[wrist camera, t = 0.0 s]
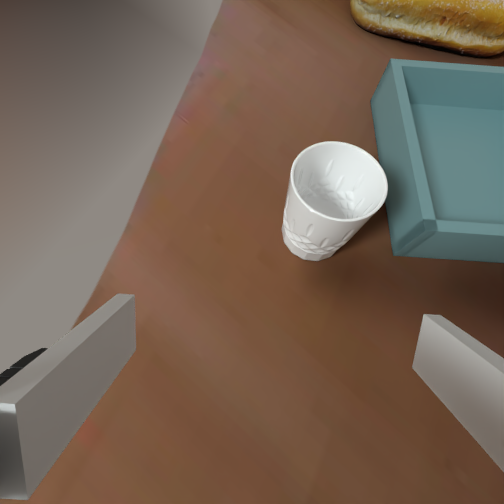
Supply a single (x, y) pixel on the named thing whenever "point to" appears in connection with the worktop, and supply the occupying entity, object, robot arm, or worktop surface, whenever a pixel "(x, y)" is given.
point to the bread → (437, 23)
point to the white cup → (330, 198)
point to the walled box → (442, 158)
